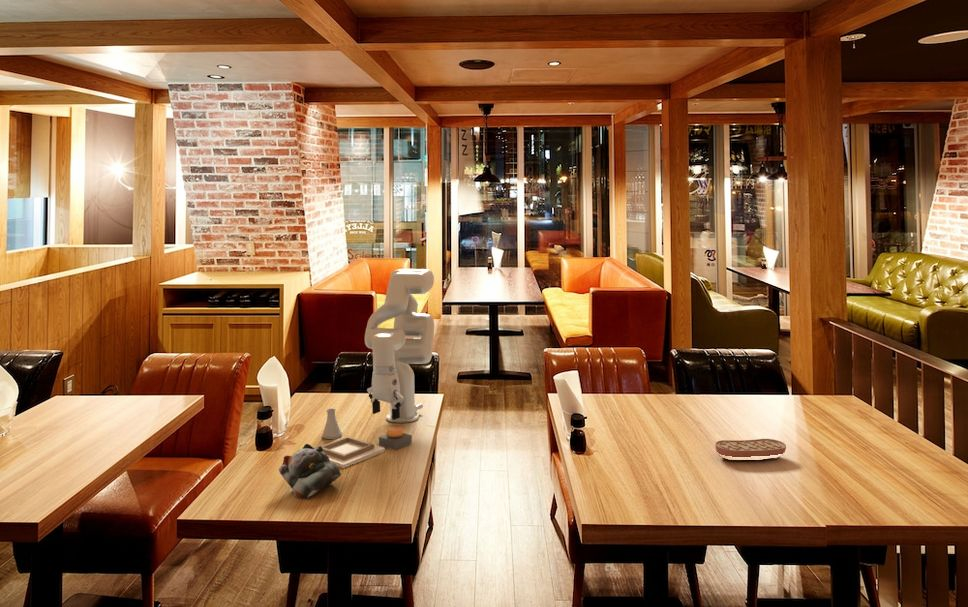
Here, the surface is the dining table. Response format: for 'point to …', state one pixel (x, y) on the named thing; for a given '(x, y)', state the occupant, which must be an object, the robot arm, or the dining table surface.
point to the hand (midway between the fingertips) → (386, 415)
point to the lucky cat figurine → (308, 471)
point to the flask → (331, 426)
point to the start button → (395, 432)
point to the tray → (350, 451)
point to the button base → (395, 441)
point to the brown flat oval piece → (750, 447)
